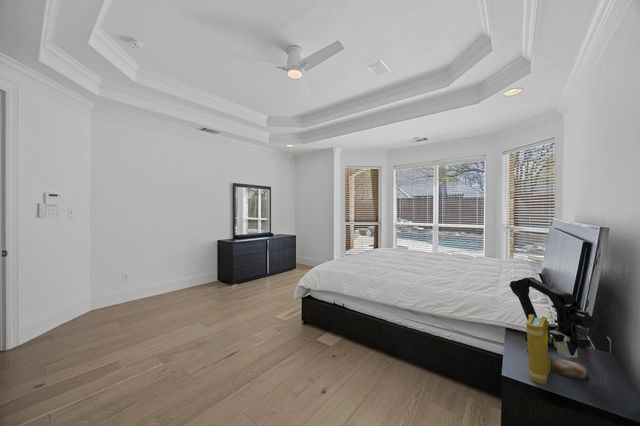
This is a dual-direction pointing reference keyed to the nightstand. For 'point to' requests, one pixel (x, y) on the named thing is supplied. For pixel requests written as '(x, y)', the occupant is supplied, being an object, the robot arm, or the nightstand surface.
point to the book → (538, 348)
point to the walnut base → (569, 369)
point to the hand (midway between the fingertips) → (567, 352)
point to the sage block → (565, 350)
